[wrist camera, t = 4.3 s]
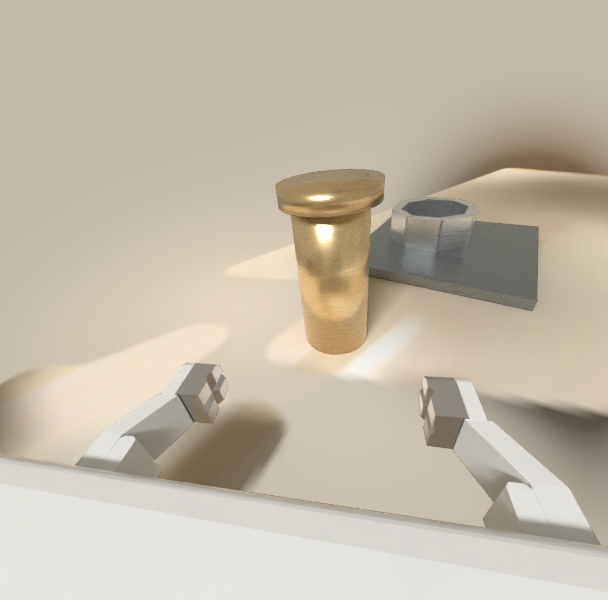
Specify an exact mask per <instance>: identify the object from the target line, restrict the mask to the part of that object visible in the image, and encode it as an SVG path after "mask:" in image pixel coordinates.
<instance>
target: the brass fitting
mask: <svg viewBox="0 0 608 600" xmlns="http://www.w3.org/2000/svg"><path fill="white" fill-rule="evenodd" d="M384 182H385V175H384V174H383V173H381V172H378V171H374V170H366V169H365V170H364V169H339V170H327V171H318V172H311V173H306V174H301V175H297V176H293V177H290V178H287V179H284V180H282V181H280V182H279V183H277V184H276V186H275V187H276V194H277V200H278V207H279V209H280V210H281V211H282V212H284V213H286V214H289V215H291V220H292V228H293V235H294V243H295V251H296V259H297V267H298V275H299V282H300V290H301V298H302V305H303V314H304V322H305V330H306V337H307V340H308V342H309V344H310V345H311V346H312V347H313V348H315V349H316V350H318V351H320V352H323V353H327V354H345V353H349V352H352V351H354V350H356V349H357V348H359V347H360V346H361V345H362V344H363V343H364V341H365V339H366V335H367V308H368V280H369V253H370V225H371V208H373V207H375V206H377V205H379V204H380V203H381V202H382V201H383V198H384Z"/></svg>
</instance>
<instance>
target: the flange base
mask: <svg viewBox="0 0 608 600" xmlns="http://www.w3.org/2000/svg"><path fill="white" fill-rule="evenodd" d="M478 209H479V206H478V205H475V204H472V203H470V202H467V201H464V200H461V199H456V198H437V197H429V198H427V197H425V198H419V199H412V200H406V201H403V202H400V203H399V204H398V205H397V206H395V207H394V208H393V209H392V217H391V218H389V219H388V220H387V221H386V222H385V223H384V224H383V225H381V226H380V227H379V228H378V229H377V230H376V231H374V232H373V233H372V234H371V235H370V253H369V276H374V277H378V278H383V279H388V280H392V281H397V282H402V283H406V284H411V285H416V286H420V287H425V288H429V289H434V290H439V291H443V292H448V293H453V294H457V295H462V296H467V297H471V298H476V299H480V300H485V301H490V302H494V303H499V304H504V305H508V306H513V307H518V308H522V309H527V310H531V311H533V309H534V307H535V304H536V302H537V280H538V228H539V227H537V226H525V225H514V224H502V223H491V222H480V221H475V220H476V217H477V213H478Z"/></svg>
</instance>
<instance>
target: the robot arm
mask: <svg viewBox="0 0 608 600" xmlns="http://www.w3.org/2000/svg"><path fill="white" fill-rule="evenodd" d="M222 371H223V370H222V368H221V365H213V364H201V363H185V364H184V365H183V366H182V367H181V369H180V370H179V371H178V373H177V374H176V376H175V377H174V379H173V380H172V382H171V383H170V384H169V386H168V387H167V389H166V390H165V392H164V393H163V394H161V393H160V394H158V395H157V396H155V397H154V398H152V399H151V400H149V401H148V402H146V403H145V404H143V405H142V406H140V407H139V408H137V409H136V410H134V411H133V412H131V413H129V414H128V415H126V416H125V417H123V418H122V419H120V420H119V421H117V422H116V423H114V424H113V425H111V426H110V427H108V428H107V429H105V430H104V431H102V432H101V434H100V435H99V436H98V437H97V439H96V440H95V441H94V442H93V444H92V445H91V446H90V447H89V449H88V450H87V451H86V452H85V454H84V455H83V456H82V457H81V459H80V460H79V461H78V462H77V464H76V465H69V464H62V463H55V462H49V461H42V460H36V459H29V458H22V457H16V456H9V455H3V454H0V600H608V547H607V546H601V545H600V543H599V541H598V540H597V538H596V536H595V534H594V533H593V531H592V529H591V527H590V525H589V523H588V521H587V520H586V518H585V516H584V514H583V513H582V511H581V509H580V507H579V505H578V504H577V502H576V500H575V498H574V496H573V494H572V492H571V491H570V489H569V487H567V486H566V485H565V484H564V483H563V482H562V481H561V480H559V479H558V478H557V477H556V476H555V475H554V474H553V473H551V472H550V471H549V470H548V469H547V468H546V467H545V466H543V465H542V464H541V463H540V462H539V461H538V460H536V459H535V458H534V457H533V456H532V455H531V454H530V453H529V452H527V451H526V450H525V449H524V448H523V447H522V446H520V445H519V444H518V443H517V442H516V441H515V440H514V439H513V438H511V437H510V436H509V435H508V434H507V433H506V432H505V431H503V430H502V429H501V428H500V427H499V426H498V425H497V424H495V423H494V422H493V421H488V420H487V417H486V415H485V412H484V410H483V408H482V406H481V403H480V400H479V398H478V396H477V393H476V391H475V389H474V386H473V384H472V381H471V380H470V379H463V378H449V377H427V376H424V377H423V380H422V386H423V389H422V390H420V395H419V407H420V413H421V417H422V418H423V419H424V420H425V423H424V427H423V429H424V434H425V438H426V443H427V446H434V447H442V448H449V449H453V451H454V452H455V454H456V455H457V456H458V457H459V459H460V460H461V461H462V462H463V464H464V465H465V466H466V468H467V469H468V470H469V471H470V473H471V474H472V475H473V476H474V478H475V479H476V480H477V482H478V483H479V484H480V485H481V486H482V488H483V489H484V490H485V492H486V493H487V494H488V495H489V497H490V498H491V499H492V501H493V502H494V503H493V505H492V506H491V508H490V509H489V511H488V512H487V513H486V515H485V516H484V518H483V520H484V524H485V527H486V528H483V527H476V526H469V525H463V524H456V523H449V522H443V521H437V520H430V519H423V518H417V517H410V516H404V515H397V514H391V513H384V512H377V511H371V510H364V509H358V508H351V507H345V506H338V505H332V504H325V503H318V502H312V501H305V500H299V499H292V498H285V497H279V496H273V495H266V494H259V493H253V492H246V491H240V490H233V489H227V488H220V487H213V486H207V485H200V484H194V483H187V482H181V481H174V480H167V479H161V478H158V477H159V475H160V473H161V468H160V467H159V465H158V464H157V463H156V462H155V461H154V460H155V459H156V458H157V457H158V456H160V455H161V454H162V453H163V452H164V451H165V450H166V449H167V448H168V447H169V446H170V445H171V444H172V443H173V442H174V441H176V440H177V439H178V438H179V437H180V436H181V435H182V434H183V433H184V432H185V431H186V430H187V429H188V428H189V427H190V426H192V425H193V424H194V422H199V423H213V421H214V419H215V417H216V415H217V413H218V411H219V405H218V404H219V403H220V402H221V401H223V400H224V398H225V396H226V393H227V387H228V385H227V380H226V378H225V377H224V376H223V375H222V374H221V373H222Z"/></svg>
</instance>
